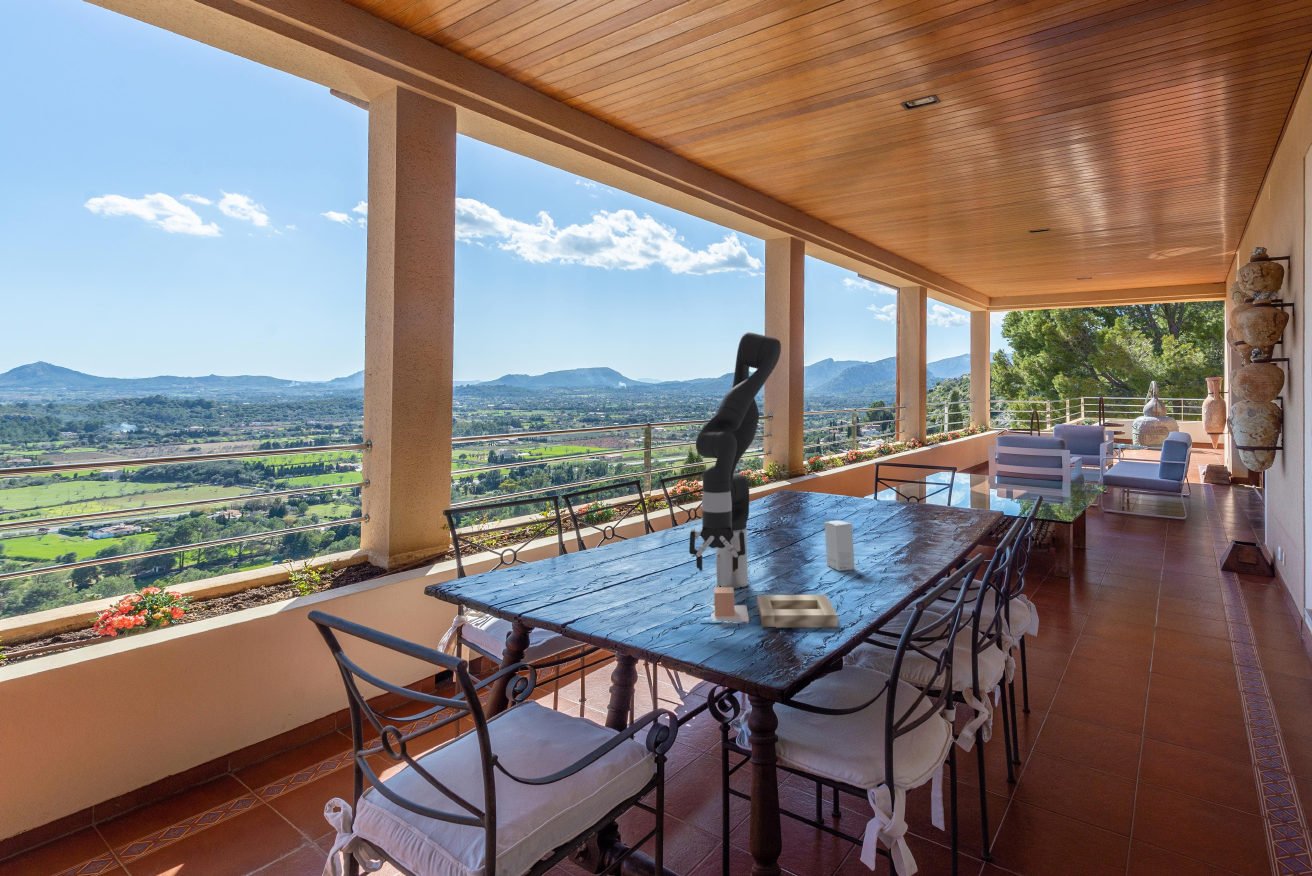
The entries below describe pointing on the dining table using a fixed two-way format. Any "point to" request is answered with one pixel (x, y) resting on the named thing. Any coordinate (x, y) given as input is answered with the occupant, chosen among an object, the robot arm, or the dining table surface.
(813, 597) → the pocket plate
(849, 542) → the skincare box
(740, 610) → the mat
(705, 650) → the dining table surface
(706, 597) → the dining table surface
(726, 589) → the block
